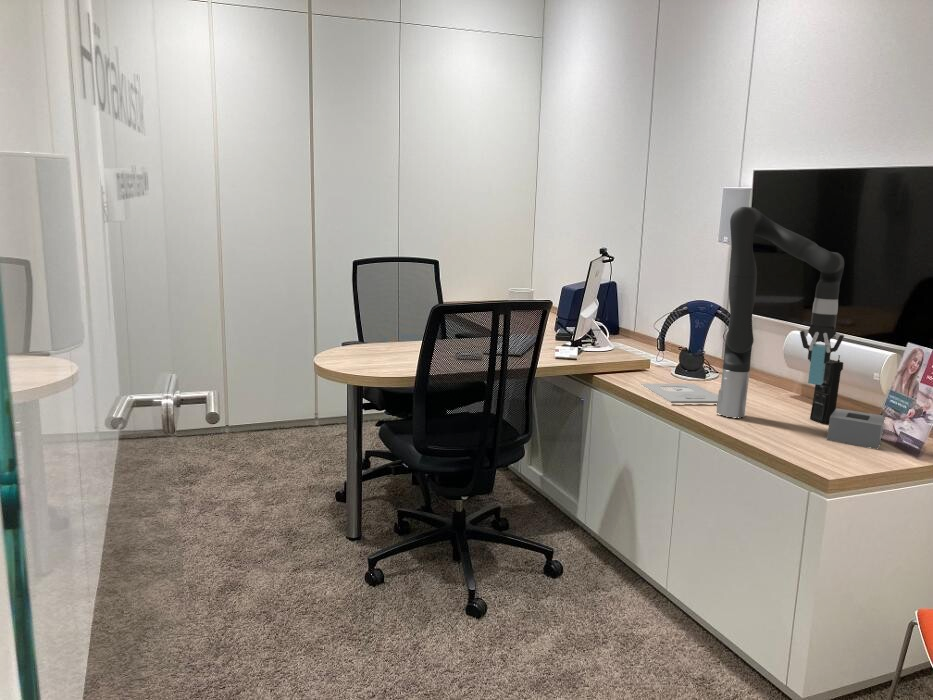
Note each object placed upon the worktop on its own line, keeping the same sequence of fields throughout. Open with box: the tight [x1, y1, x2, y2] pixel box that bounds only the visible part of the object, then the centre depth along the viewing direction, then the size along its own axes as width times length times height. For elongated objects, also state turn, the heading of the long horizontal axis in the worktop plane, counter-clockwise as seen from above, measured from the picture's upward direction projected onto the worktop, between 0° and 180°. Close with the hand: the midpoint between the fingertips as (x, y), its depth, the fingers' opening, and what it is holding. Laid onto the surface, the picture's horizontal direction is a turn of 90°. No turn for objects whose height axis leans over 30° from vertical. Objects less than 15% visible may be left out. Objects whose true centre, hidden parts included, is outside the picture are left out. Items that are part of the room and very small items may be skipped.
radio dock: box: [826, 407, 886, 449], centre depth 245 cm, size 15×15×8 cm
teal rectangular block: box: [807, 343, 826, 385], centre depth 249 cm, size 4×5×13 cm
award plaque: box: [639, 382, 718, 403], centre depth 298 cm, size 25×30×2 cm
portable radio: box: [809, 354, 844, 425], centre depth 265 cm, size 8×6×25 cm
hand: (818, 362), depth 249 cm, fingers closed on teal rectangular block, 4 cm apart
